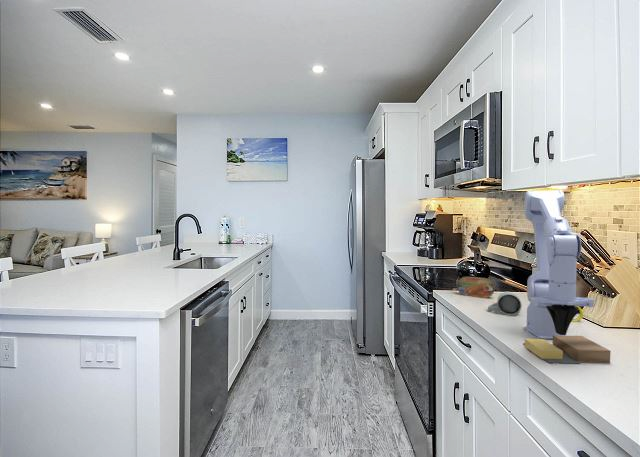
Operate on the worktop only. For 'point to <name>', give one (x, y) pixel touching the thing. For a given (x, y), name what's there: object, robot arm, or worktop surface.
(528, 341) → the yellow sponge
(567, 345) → the block
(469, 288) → the tin
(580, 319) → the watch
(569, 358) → the mat
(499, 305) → the ceramic mug
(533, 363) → the worktop surface
